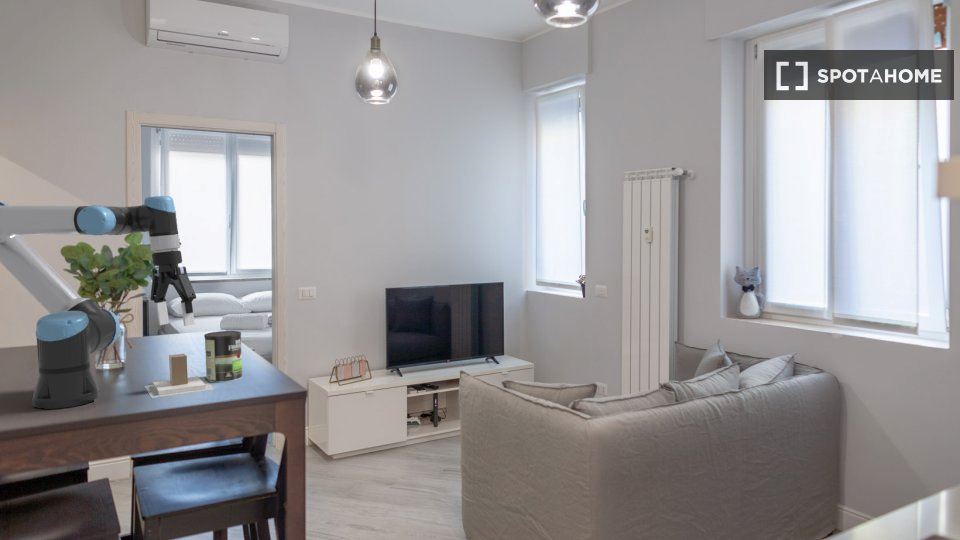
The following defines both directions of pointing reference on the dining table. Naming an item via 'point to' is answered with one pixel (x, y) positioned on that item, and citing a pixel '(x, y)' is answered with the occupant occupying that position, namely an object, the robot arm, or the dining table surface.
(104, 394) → the dining table surface
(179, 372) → the square plate with block
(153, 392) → the mat
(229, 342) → the coffee can
